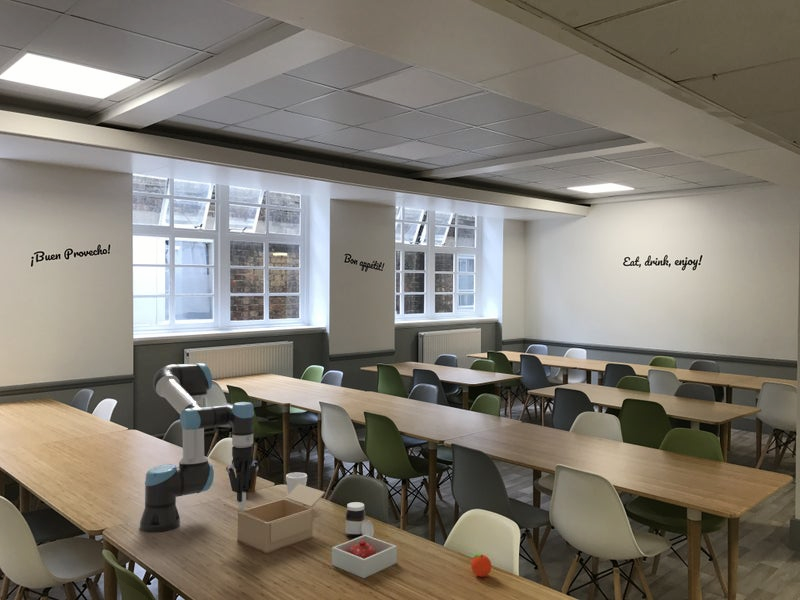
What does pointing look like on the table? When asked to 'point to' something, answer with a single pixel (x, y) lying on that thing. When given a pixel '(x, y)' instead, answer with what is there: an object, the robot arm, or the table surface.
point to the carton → (275, 525)
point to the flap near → (244, 512)
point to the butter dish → (362, 550)
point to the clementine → (481, 565)
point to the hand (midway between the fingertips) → (242, 509)
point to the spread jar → (357, 521)
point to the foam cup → (295, 481)
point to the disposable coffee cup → (254, 481)
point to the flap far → (305, 495)
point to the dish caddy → (368, 565)
